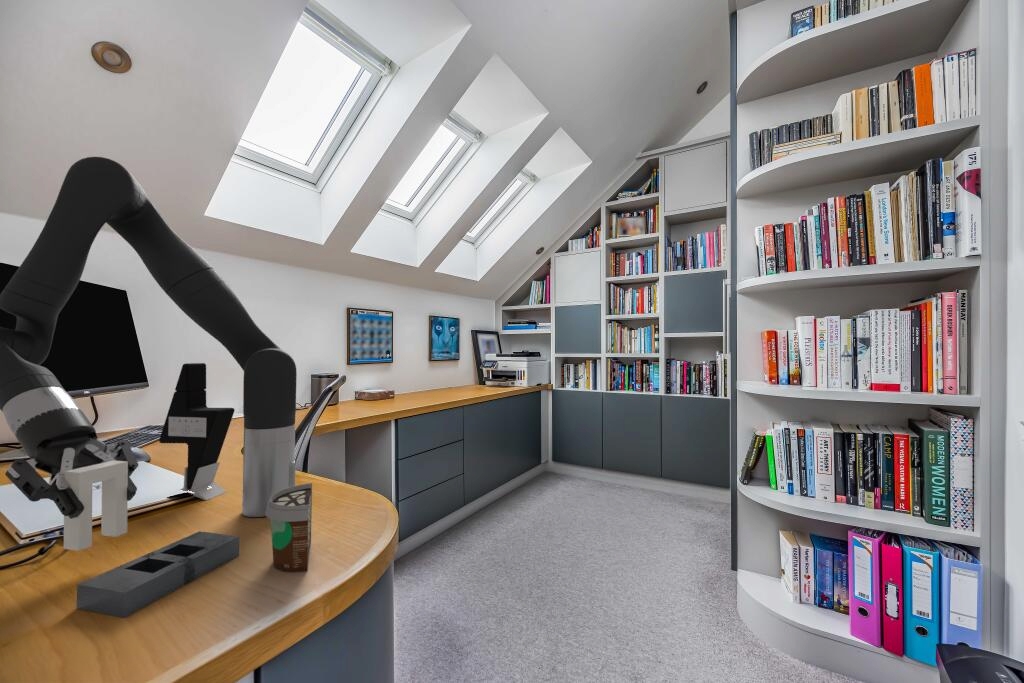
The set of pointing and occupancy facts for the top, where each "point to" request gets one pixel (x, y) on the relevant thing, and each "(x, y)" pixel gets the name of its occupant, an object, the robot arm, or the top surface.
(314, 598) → the top surface
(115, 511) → the grey arch-shaped block
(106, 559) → the top surface
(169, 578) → the grey slotted base block
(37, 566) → the top surface
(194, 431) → the award
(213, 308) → the robot arm
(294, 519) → the food container
